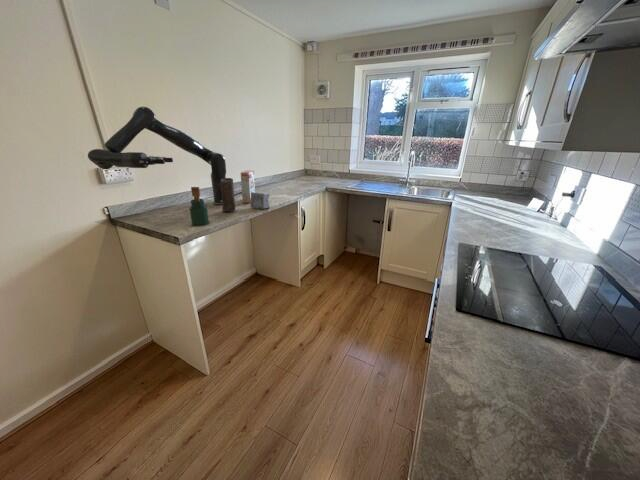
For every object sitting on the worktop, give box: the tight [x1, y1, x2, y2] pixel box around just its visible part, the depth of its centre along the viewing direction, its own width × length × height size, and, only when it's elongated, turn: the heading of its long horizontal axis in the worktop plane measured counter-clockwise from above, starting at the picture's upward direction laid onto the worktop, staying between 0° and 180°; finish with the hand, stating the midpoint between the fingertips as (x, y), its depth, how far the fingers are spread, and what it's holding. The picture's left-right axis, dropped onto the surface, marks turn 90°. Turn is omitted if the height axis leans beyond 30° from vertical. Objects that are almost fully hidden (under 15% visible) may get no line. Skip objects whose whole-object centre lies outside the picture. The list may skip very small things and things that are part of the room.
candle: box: [220, 177, 236, 213], centre depth 156 cm, size 8×7×20 cm
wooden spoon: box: [190, 186, 201, 201], centre depth 134 cm, size 3×4×18 cm
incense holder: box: [250, 191, 270, 210], centre depth 167 cm, size 10×8×10 cm
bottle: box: [189, 198, 210, 227], centre depth 135 cm, size 8×8×12 cm
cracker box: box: [240, 169, 256, 204], centre depth 182 cm, size 14×6×21 cm, turn 179°
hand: (168, 160), depth 130 cm, fingers open, 8 cm apart
